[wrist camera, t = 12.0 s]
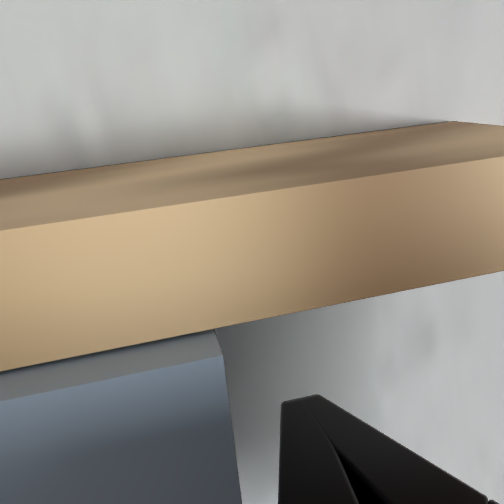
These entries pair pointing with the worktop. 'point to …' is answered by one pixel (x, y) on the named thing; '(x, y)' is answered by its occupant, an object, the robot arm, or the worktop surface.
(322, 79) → the worktop surface
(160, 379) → the t block
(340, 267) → the fence
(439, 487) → the robot arm
